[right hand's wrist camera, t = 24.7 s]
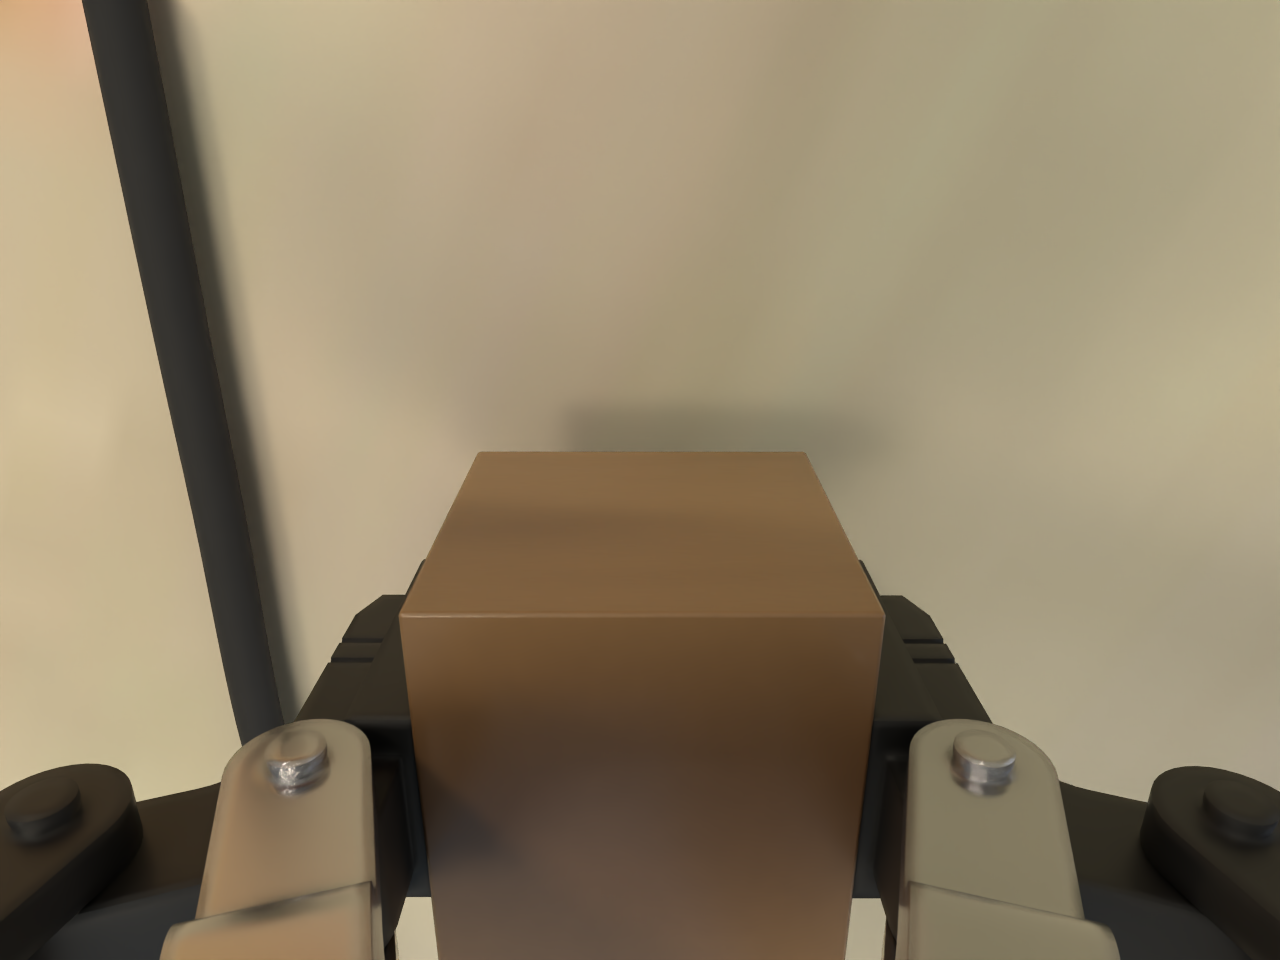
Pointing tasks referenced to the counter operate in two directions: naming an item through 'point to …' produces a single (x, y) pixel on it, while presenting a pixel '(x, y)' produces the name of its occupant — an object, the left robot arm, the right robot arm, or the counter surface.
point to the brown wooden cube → (641, 709)
